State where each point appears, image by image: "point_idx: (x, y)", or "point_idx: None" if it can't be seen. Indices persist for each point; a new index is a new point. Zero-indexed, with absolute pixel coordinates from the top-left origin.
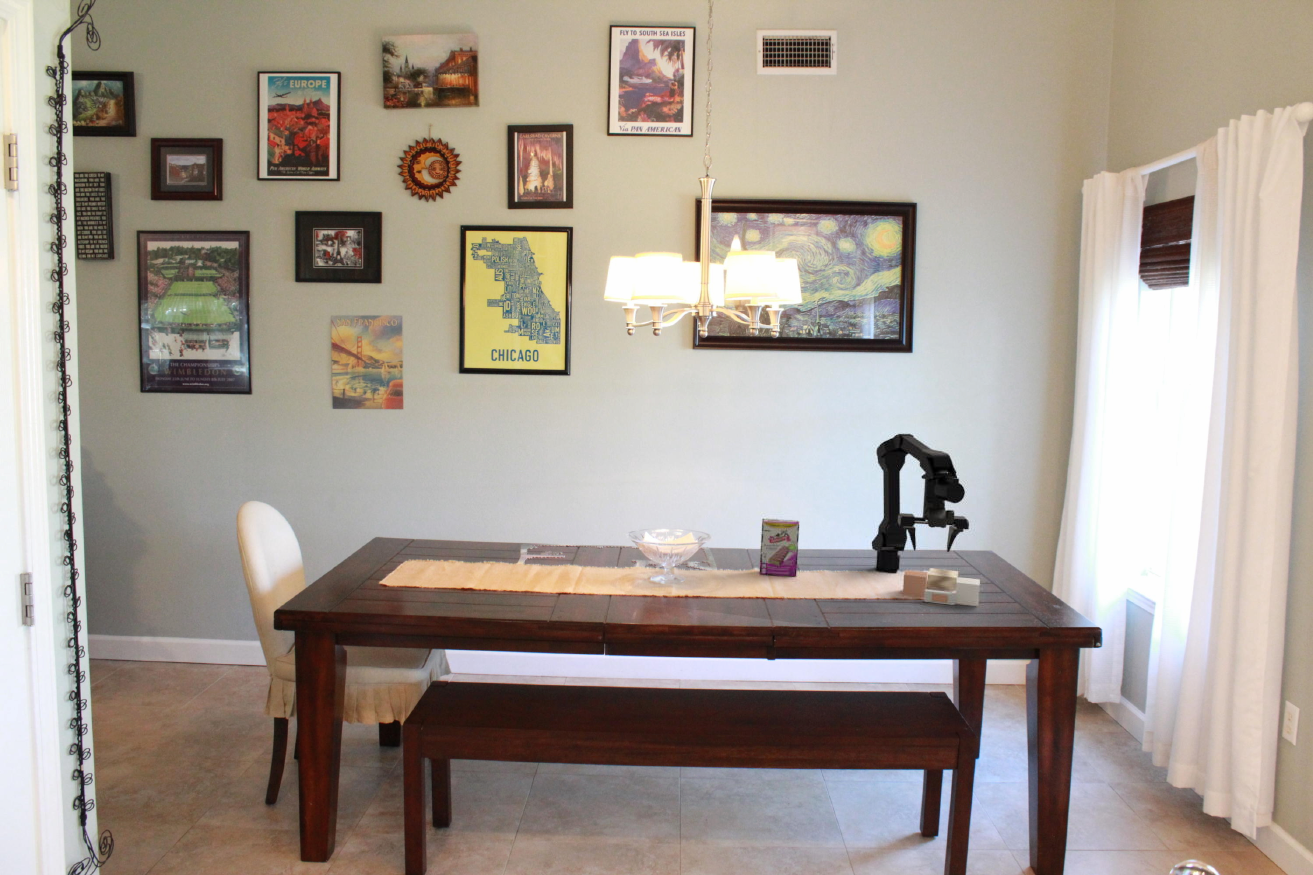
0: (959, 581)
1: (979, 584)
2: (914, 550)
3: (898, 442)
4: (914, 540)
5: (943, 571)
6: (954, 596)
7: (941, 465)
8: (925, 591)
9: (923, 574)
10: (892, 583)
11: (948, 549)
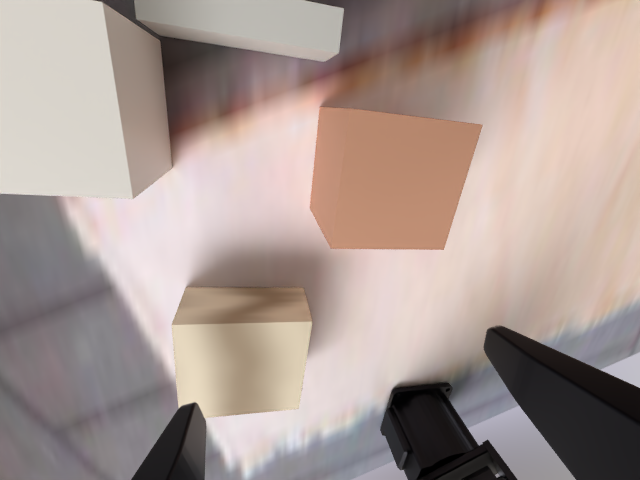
0: (82, 53)
1: None
2: (493, 327)
3: None
4: (614, 396)
5: (243, 391)
6: None
7: None
8: (338, 8)
9: (360, 181)
10: (424, 277)
11: (180, 428)
